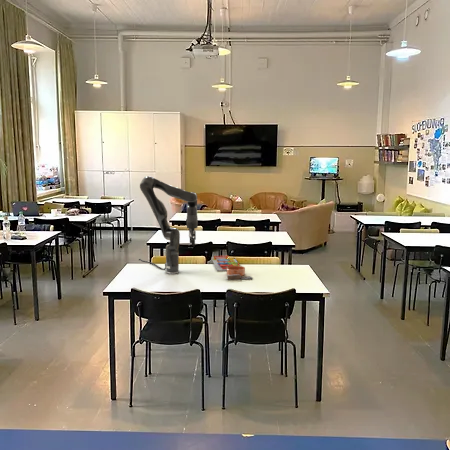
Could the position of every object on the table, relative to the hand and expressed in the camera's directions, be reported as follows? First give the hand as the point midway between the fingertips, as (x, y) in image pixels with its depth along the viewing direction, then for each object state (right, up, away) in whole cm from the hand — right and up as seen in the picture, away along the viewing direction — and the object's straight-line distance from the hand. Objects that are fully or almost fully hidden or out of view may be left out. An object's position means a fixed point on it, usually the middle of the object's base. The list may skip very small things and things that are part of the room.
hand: (192, 244), depth 312 cm
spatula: (+33, -24, +1) cm, 41 cm away
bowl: (+31, -23, +13) cm, 40 cm away
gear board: (+24, -18, +46) cm, 55 cm away
